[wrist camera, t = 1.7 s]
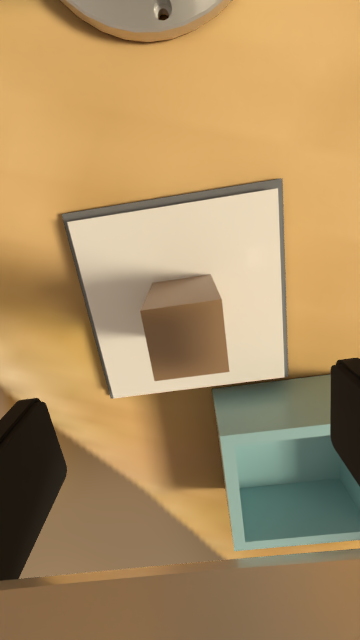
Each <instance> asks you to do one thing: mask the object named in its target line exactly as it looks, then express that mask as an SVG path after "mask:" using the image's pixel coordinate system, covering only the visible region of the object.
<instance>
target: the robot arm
mask: <svg viewBox="0 0 360 640" xmlns="http://www.w3.org/2000/svg"><path fill="white" fill-rule="evenodd" d="M60 1H61V2H62V3H64V4H65V5H66V6H67V7H68V8H69V9H70V10H71V11H72V12H73V13H74V14H76V15H77V16H78V17H79V18H81V19H82V20H84V21H85V22H87V23H89V24H90V25H92V26H94V27H95V28H97V29H98V30H100V31H102V32H105V33H108V34H111V35H113V36H116V37H119V38H122V39H125V40H134V41H143V42H153V41H160V40H168V39H173V38H176V37H179V36H181V35H184V34H186V33H189V32H192V31H194V30H196V29H198V28H199V27H201V26H202V25H204V24H205V23H207V22H208V21H210V20H211V19H213V18H214V17H216V16H217V15H218V14H219V13H220V12H221V11H222V10H223V9H224V8H225V7H226V6H227V5H228V4H229V3H230V2H231V1H232V0H60ZM162 14H165V15H167V16H168V19H166V20H159V17H160V16H161V15H162ZM330 438H331V442H332V445H333V447H334V449H335V450H336V452H337V453H338V455H339V456H340V458H341V459H342V461H343V462H344V464H345V465H346V467H347V468H348V470H349V471H350V473H351V474H352V476H353V477H354V479H355V480H356V482H357V483H358V485H359V486H360V359H359V358H351V359H343V360H338V361H337V363H336V365H333V366H332V367H331V409H330ZM66 473H67V467H66V463H65V460H64V457H63V454H62V451H61V448H60V445H59V442H58V439H57V436H56V433H55V430H54V427H53V424H52V421H51V418H50V415H49V412H48V409H47V406H46V404H45V403H44V402H41V401H40V400H39V399H38V398H33V399H25V400H19V401H18V402H16V404H15V405H14V406H13V407H12V408H11V409H10V410H9V411H8V412H7V413H6V414H5V415H4V416H3V417H2V419H1V420H0V640H360V549H349V550H337V551H325V552H313V553H301V554H289V555H277V556H265V557H253V558H241V559H230V560H219V561H208V562H196V563H186V564H174V565H163V566H152V567H141V568H130V569H119V570H109V571H97V572H87V573H77V574H66V575H55V576H45V577H35V578H24V579H19V576H20V574H21V572H22V570H23V568H24V566H25V564H26V561H27V559H28V557H29V555H30V553H31V550H32V549H33V546H34V544H35V542H36V540H37V538H38V536H39V533H40V531H41V529H42V527H43V525H44V523H45V521H46V518H47V516H48V514H49V512H50V510H51V508H52V505H53V503H54V501H55V499H56V497H57V495H58V493H59V490H60V488H61V486H62V484H63V482H64V480H65V477H66Z"/></svg>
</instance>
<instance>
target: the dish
mask: <svg viewBox="0 0 360 640" xmlns="http://www.w3.org/2000/svg"><path fill="white" fill-rule="evenodd" d="M212 393H213V400H214V408H215V416H216V423H217V431H218V439H219V446H220V454H221V461H222V469H223V477H224V484H225V491H226V498H227V505H228V511H229V518H230V524H231V531H232V538H233V544H234V551H241V550H252V549H263V548H274V547H285V546H296V545H308V544H319V543H330V542H341V541H352V540H360V486H359V485H358V483H357V482H356V480H355V479H354V477H353V476H352V474H351V473H350V471H349V470H348V468H347V467H346V465H345V464H344V462H343V461H342V459H341V458H340V456H339V455H338V453H337V452H336V450H335V449H334V447H333V445H332V442H331V438H330V409H331V374H330V375H321V376H313V377H305V378H297V379H289V380H281V381H272V382H264V383H256V384H248V385H240V386H232V387H223V388H215V389H212Z"/></svg>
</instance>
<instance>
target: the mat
mask: <svg viewBox="0 0 360 640" xmlns="http://www.w3.org/2000/svg"><path fill="white" fill-rule="evenodd" d="M276 188H278V201H279V230H280V259H281V287H282V316H283V344H284V373H285V377H288V349H287V316H286V283H285V249H284V216H283V183H282V179H276V180H269V181H263V182H257V183H251V184H245V185H239V186H233V187H226V188H220V189H214V190H208V191H202V192H196V193H189V194H183V195H177V196H171V197H165V198H159V199H152V200H146V201H140V202H134V203H128V204H122V205H115V206H109V207H103V208H97V209H91V210H85V211H79V212H72V213H66V214H62V217H63V221H64V225H65V229H66V232H67V236H68V240H69V244H70V247H71V251H72V255H73V259H74V262H75V266H76V270H77V274H78V277H79V281H80V285H81V289H82V292H83V296H84V300H85V303H86V307H87V311H88V315H89V318H90V322H91V326H92V330H93V333H94V337H95V341H96V345H97V348H98V352H99V356H100V360H101V363H102V367H103V371H104V375H105V378H106V382H107V386H108V389H109V393H110V397H111V398H113V394H112V390H111V386H110V383H109V379H108V375H107V371H106V368H105V364H104V360H103V356H102V352H101V349H100V345H99V341H98V337H97V333H96V330H95V326H94V322H93V318H92V314H91V311H90V307H89V303H88V299H87V295H86V292H85V288H84V284H83V280H82V277H81V273H80V269H79V265H78V261H77V258H76V254H75V250H74V246H73V242H72V239H71V235H70V231H69V227H68V223H67V222H71V221H77V220H83V219H90V218H96V217H102V216H108V215H114V214H121V213H127V212H133V211H139V210H146V209H152V208H158V207H164V206H171V205H177V204H183V203H189V202H195V201H202V200H208V199H214V198H220V197H227V196H233V195H239V194H245V193H251V192H258V191H264V190H270V189H276Z"/></svg>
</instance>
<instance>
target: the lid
mask: <svg viewBox="0 0 360 640" xmlns="http://www.w3.org/2000/svg"><path fill="white" fill-rule="evenodd" d="M67 223H68V227H69V231H70V235H71V239H72V242H73V246H74V250H75V254H76V258H77V261H78V265H79V269H80V273H81V277H82V280H83V284H84V288H85V292H86V295H87V299H88V303H89V307H90V311H91V314H92V318H93V322H94V326H95V330H96V333H97V337H98V341H99V345H100V349H101V352H102V356H103V360H104V364H105V368H106V371H107V375H108V379H109V383H110V386H111V390H112V394H113V398H121V397H129V396H137V395H145V394H153V393H161V392H169V391H177V390H186V389H194V388H202V387H210V386H218V385H226V384H234V383H242V382H250V381H259V380H267V379H275V378H283V377H285V373H284V344H283V316H282V287H281V259H280V230H279V201H278V188H276V189H270V190H264V191H258V192H251V193H245V194H239V195H233V196H227V197H220V198H214V199H208V200H202V201H195V202H189V203H183V204H177V205H171V206H164V207H158V208H152V209H146V210H139V211H133V212H127V213H121V214H114V215H108V216H102V217H96V218H90V219H83V220H77V221H71V222H67Z"/></svg>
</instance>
